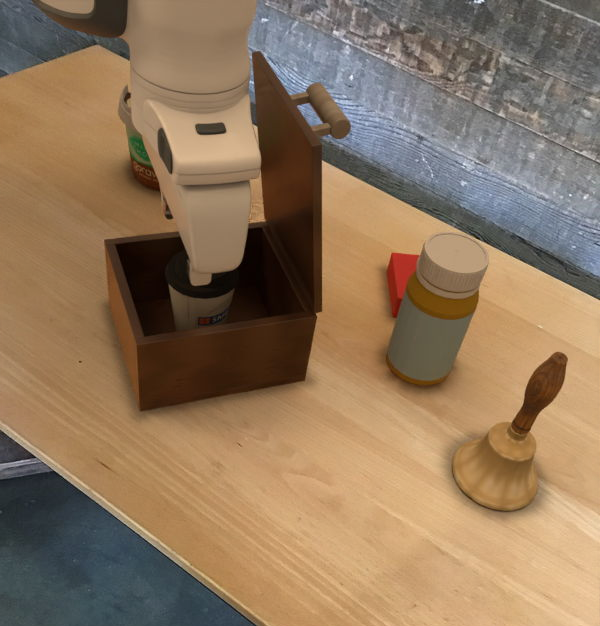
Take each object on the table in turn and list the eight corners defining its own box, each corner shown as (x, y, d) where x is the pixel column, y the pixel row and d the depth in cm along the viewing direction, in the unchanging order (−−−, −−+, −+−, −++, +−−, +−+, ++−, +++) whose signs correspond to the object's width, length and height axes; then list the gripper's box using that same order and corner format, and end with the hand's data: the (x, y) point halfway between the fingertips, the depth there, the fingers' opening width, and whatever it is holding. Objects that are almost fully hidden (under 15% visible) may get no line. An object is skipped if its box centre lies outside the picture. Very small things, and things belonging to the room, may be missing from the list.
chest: (139, 411, 72) (136, 345, 65) (109, 307, 80) (103, 239, 74) (305, 380, 77) (317, 316, 70) (259, 286, 86) (267, 220, 79)
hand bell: (462, 428, 75) (517, 309, 63) (543, 459, 74) (615, 343, 62) (442, 491, 70) (498, 374, 58) (529, 525, 69) (604, 412, 57)
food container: (103, 180, 95) (97, 105, 87) (126, 156, 99) (122, 82, 91) (194, 209, 93) (196, 134, 86) (214, 183, 97) (217, 111, 90)
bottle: (459, 359, 82) (505, 248, 71) (433, 399, 77) (477, 287, 66) (402, 332, 84) (437, 219, 72) (373, 368, 79) (406, 254, 68)
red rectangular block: (451, 322, 86) (467, 279, 81) (392, 316, 85) (405, 273, 80) (442, 276, 91) (457, 233, 86) (386, 271, 90) (398, 227, 85)
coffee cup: (151, 334, 77) (148, 256, 70) (202, 305, 81) (205, 228, 73) (196, 373, 74) (199, 296, 67) (247, 341, 78) (255, 265, 71)
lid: (312, 146, 56) (374, 131, 57) (251, 52, 65) (306, 41, 66) (314, 314, 70) (364, 300, 71) (264, 218, 78) (309, 206, 79)
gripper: (121, 38, 63) (126, 182, 73) (181, 180, 51) (177, 327, 62) (195, 37, 65) (190, 177, 75) (269, 173, 53) (251, 316, 64)
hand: (185, 245), depth 68 cm, fingers open, 8 cm apart
